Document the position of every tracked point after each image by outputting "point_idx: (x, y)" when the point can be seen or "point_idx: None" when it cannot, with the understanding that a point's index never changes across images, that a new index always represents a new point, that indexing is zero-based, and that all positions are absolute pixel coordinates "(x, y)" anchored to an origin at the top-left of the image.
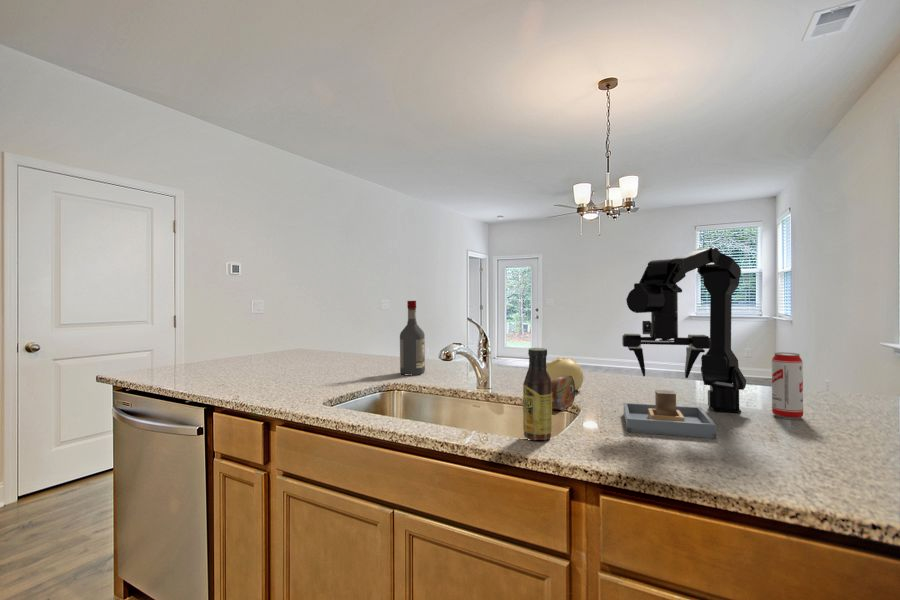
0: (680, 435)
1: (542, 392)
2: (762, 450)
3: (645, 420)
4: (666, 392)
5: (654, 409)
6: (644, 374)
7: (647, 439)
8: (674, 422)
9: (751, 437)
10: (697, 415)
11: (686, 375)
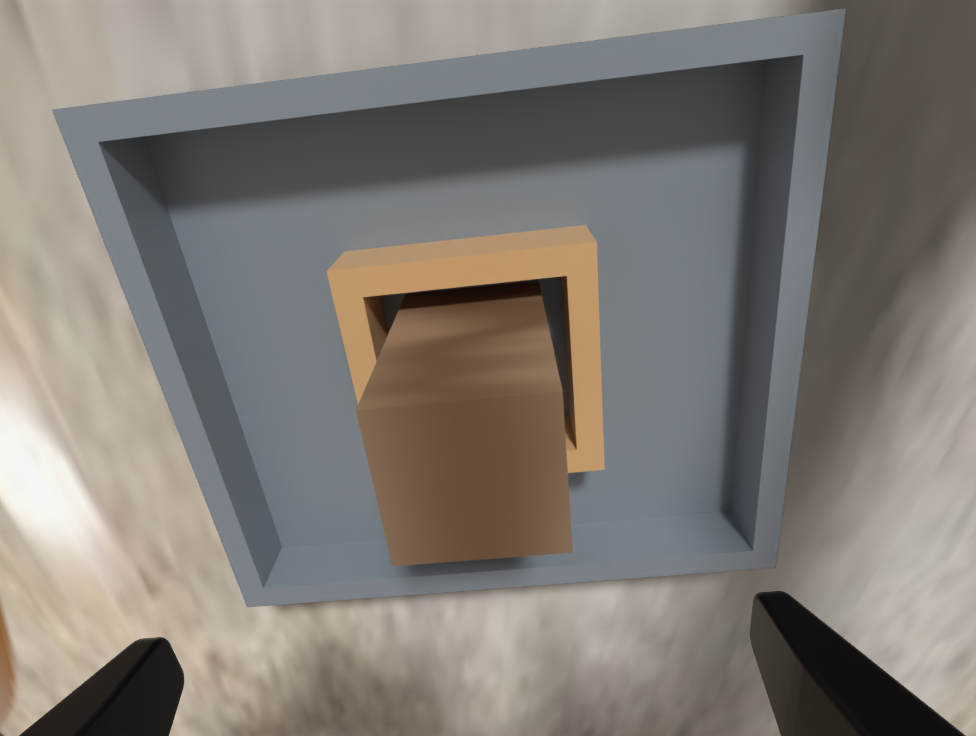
0: None
1: None
2: (902, 602)
3: (356, 596)
4: (481, 509)
5: (384, 294)
6: (167, 717)
7: (392, 619)
8: (528, 584)
9: (965, 418)
10: (765, 60)
11: (773, 690)
